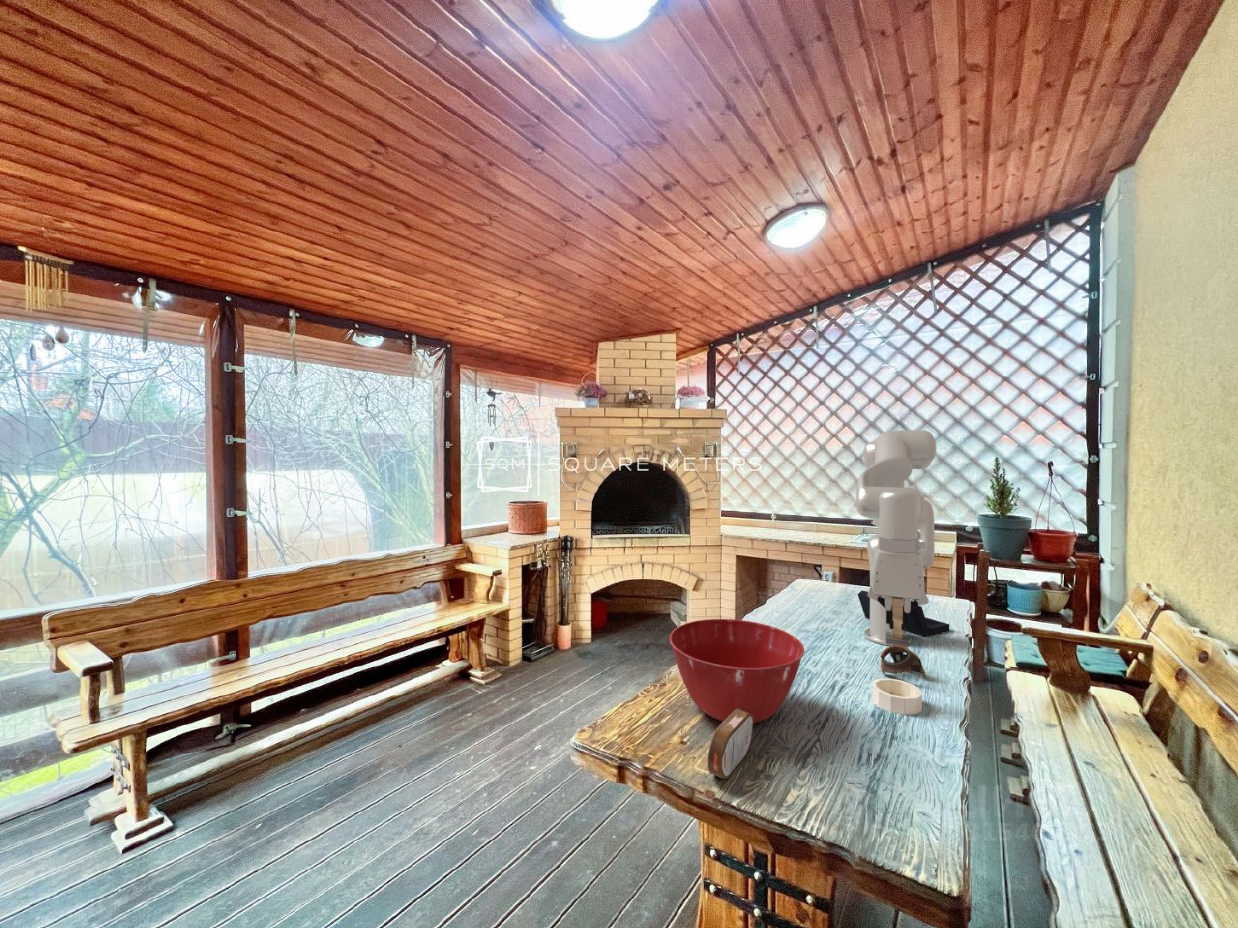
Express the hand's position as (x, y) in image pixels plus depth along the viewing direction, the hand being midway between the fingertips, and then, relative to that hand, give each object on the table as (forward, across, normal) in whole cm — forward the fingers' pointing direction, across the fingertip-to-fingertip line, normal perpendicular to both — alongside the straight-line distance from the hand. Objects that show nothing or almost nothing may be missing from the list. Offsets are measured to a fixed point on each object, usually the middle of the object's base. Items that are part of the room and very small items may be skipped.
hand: (897, 627), depth 113 cm
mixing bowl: (+17, +32, +18) cm, 41 cm away
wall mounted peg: (+3, 0, 0) cm, 3 cm away
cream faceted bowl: (+17, 0, 0) cm, 17 cm away
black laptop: (+18, -5, -60) cm, 63 cm away
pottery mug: (+18, -3, -19) cm, 26 cm away
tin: (+17, +28, +38) cm, 50 cm away
